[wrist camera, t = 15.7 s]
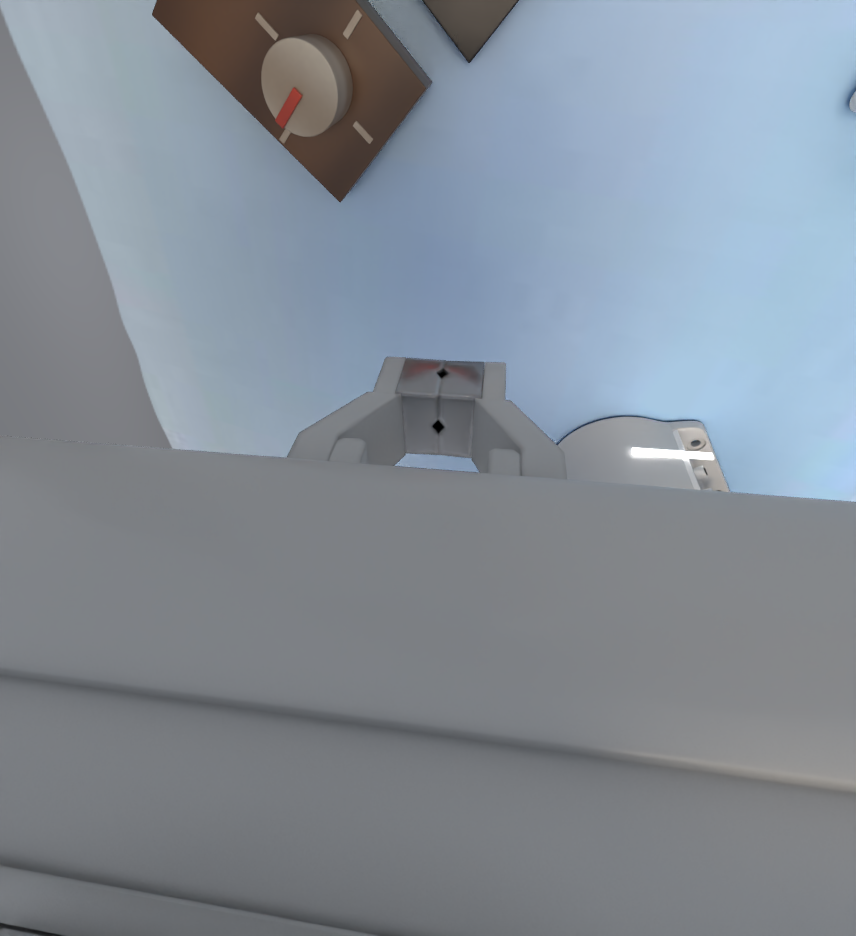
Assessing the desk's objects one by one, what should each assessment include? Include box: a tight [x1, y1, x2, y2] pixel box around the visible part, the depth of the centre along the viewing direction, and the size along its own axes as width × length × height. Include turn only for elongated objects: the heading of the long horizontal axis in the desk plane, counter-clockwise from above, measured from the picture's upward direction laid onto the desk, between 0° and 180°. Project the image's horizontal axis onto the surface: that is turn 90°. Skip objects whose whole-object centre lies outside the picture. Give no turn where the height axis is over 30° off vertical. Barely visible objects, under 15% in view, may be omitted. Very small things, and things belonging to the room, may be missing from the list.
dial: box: [261, 34, 353, 137], centre depth 28 cm, size 4×4×4 cm
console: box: [152, 0, 432, 202], centre depth 29 cm, size 14×9×3 cm, turn 46°
